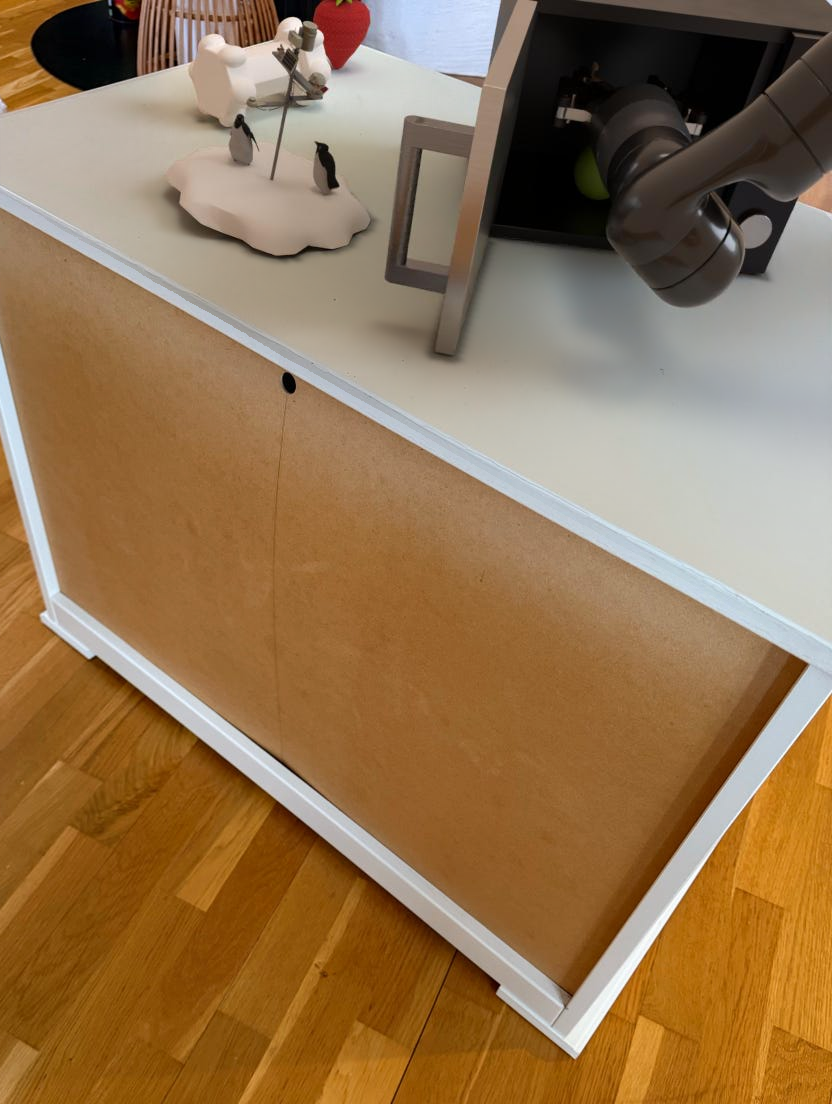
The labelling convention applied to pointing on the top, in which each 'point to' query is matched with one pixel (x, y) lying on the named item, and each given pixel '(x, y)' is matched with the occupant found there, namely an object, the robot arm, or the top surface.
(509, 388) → the top surface
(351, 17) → the strawberry
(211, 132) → the top surface
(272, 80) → the bone shaped toy
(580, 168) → the snail figurine
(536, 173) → the microwave
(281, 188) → the figurine
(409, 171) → the microwave door
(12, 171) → the top surface
